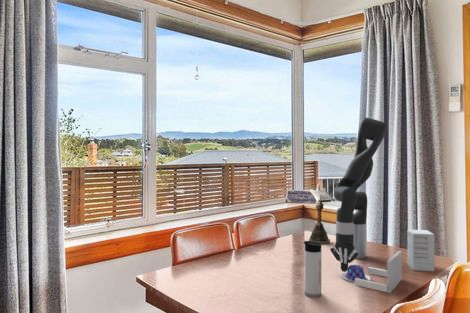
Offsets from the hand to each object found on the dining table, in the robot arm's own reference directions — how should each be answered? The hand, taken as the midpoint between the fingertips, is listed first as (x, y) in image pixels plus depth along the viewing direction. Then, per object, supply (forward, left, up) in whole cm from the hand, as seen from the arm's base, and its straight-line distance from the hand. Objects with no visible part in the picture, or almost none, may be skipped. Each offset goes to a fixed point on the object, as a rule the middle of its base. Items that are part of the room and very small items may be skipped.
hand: (344, 271), depth 155 cm
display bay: (+14, 0, -2) cm, 14 cm away
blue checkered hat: (+5, -1, -2) cm, 6 cm away
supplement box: (+25, +31, -2) cm, 39 cm away
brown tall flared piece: (-30, +45, -2) cm, 54 cm away
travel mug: (-2, -28, -2) cm, 28 cm away
